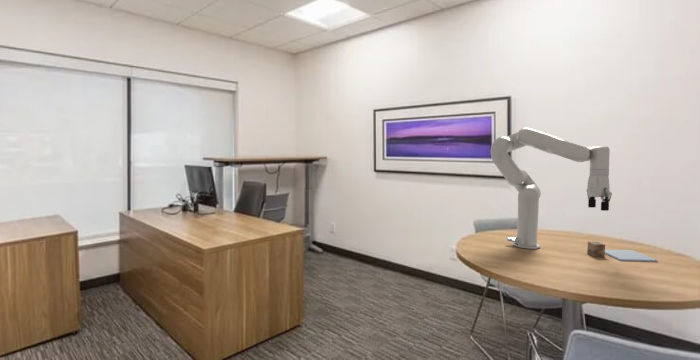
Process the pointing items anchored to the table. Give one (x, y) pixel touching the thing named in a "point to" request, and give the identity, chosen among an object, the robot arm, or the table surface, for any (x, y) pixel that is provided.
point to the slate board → (629, 255)
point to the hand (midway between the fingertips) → (598, 208)
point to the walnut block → (596, 249)
